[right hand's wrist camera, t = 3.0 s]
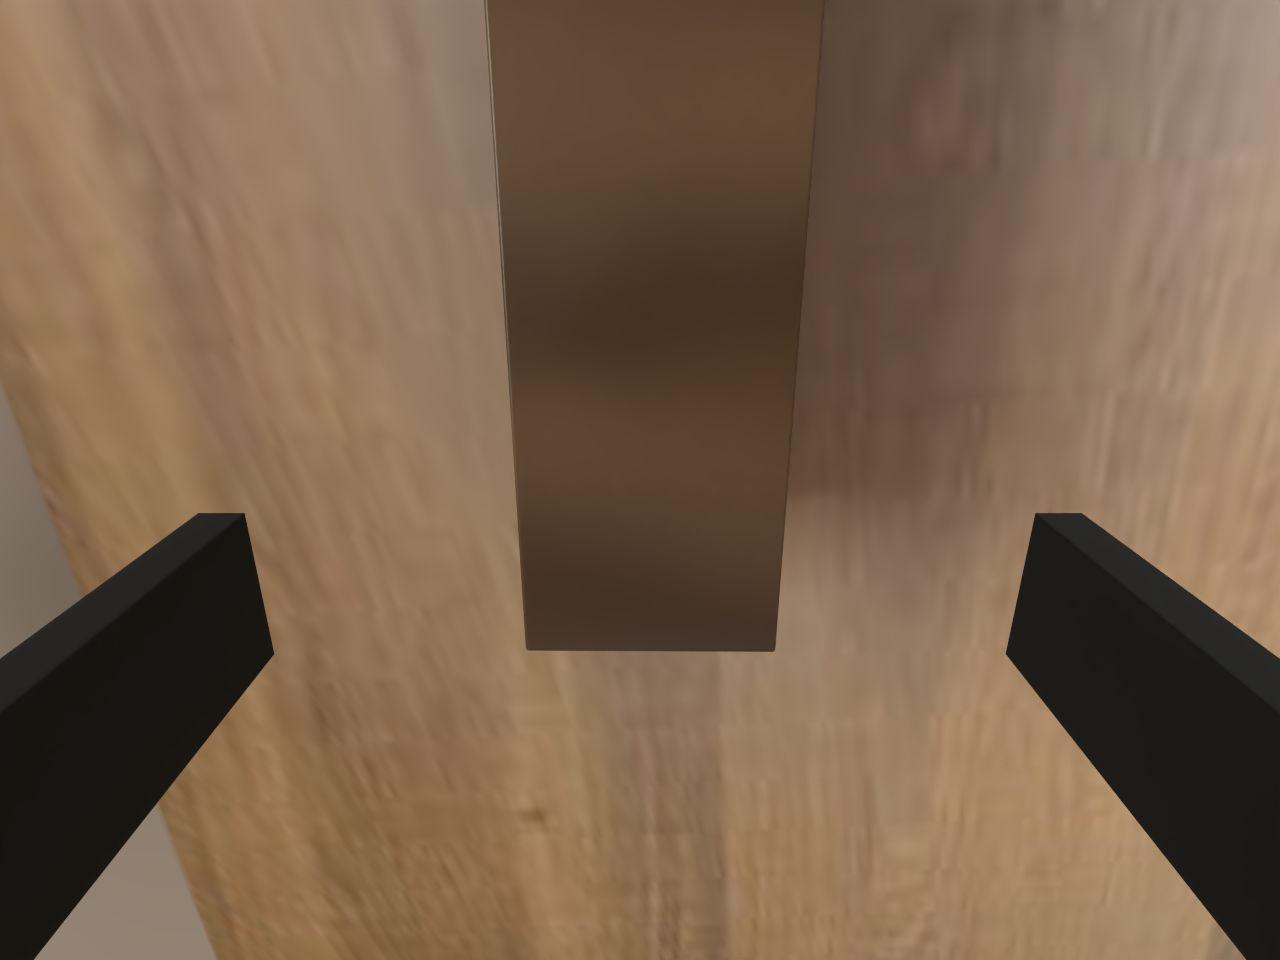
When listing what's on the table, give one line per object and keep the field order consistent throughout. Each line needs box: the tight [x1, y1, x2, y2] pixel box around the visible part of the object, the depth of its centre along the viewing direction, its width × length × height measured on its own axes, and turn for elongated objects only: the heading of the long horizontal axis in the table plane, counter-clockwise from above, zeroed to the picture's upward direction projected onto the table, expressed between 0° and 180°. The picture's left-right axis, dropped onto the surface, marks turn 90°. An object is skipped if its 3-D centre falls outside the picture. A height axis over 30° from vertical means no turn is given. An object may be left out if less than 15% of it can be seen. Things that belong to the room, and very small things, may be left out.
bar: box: [484, 0, 825, 652], centre depth 16 cm, size 27×6×9 cm, turn 0°
